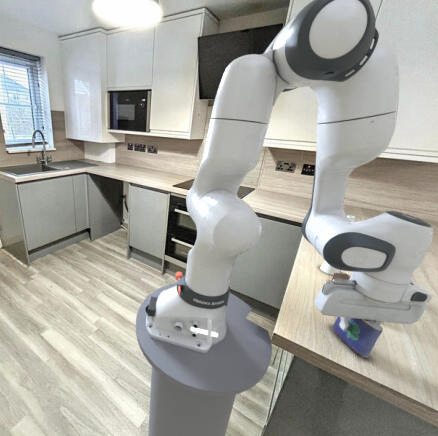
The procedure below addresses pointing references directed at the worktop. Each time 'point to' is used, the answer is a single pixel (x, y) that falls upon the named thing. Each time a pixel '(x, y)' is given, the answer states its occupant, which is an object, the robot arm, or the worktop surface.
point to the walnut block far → (341, 276)
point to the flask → (359, 335)
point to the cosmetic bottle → (326, 266)
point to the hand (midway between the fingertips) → (354, 329)
